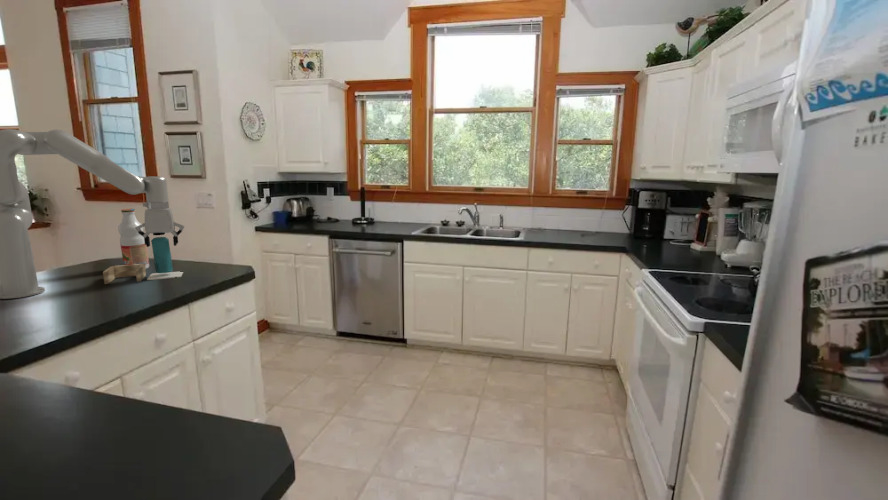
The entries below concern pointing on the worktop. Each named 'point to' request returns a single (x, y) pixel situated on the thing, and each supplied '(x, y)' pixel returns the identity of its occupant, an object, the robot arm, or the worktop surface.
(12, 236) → the robot arm
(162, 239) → the beverage bottle
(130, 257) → the fruit juice
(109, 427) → the worktop surface
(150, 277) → the trivet
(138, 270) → the bottle bracket
